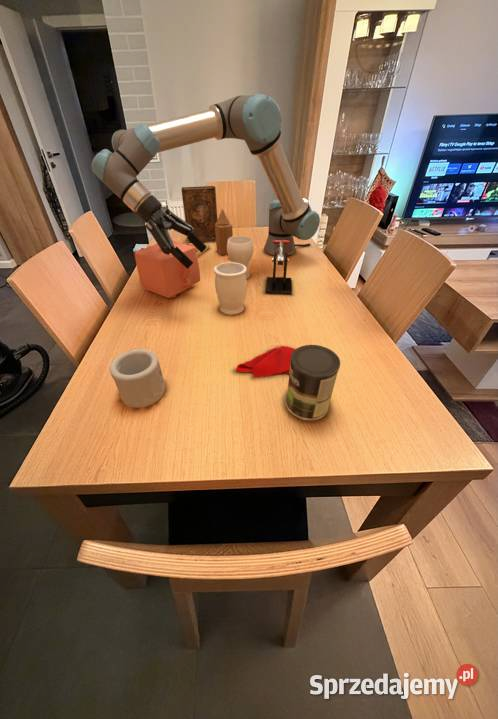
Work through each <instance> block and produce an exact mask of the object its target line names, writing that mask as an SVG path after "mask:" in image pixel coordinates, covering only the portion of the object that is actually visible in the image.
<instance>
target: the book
mask: <svg viewBox="0 0 498 719" xmlns="http://www.w3.org/2000/svg"><path fill="white" fill-rule="evenodd" d="M216 189H217V188H216V186H214V185H204V186H182V187H181V190H180V191H181V198H182V206H183V213H184V221H185V222H187V223H188V224H189V225H191V226H192V227H193V229H194V230H193V231H192V232H193V233H194V234H195V235H196V236H197V237H198V238H199V239H200V240H201V241H202V242H203V243H216V234H215V223H217V220H218V204H217V190H216ZM187 237H188V236H186V238H187ZM187 242H188V243H191V242H190V241H189V240H188V239H187Z"/></svg>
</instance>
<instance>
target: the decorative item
mask: <svg viewBox="0 0 498 719" xmlns="http://www.w3.org/2000/svg"><path fill="white" fill-rule="evenodd" d="M217 219H218V220H217V223H215V234H216V242H215V246H216V252H217V253H218V254H219V255H220V256H224V255H228V254H227V242H228V239H229V238H230V237H234V236H233V234H234V233H233V232H234V231H233V225H232V224H231V223H230V220H229V218H228V216H227V215H226V212H225V210H224V208H223V207H222V208H221V210H220V213H219V215H218V217H217Z"/></svg>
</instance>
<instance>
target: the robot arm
mask: <svg viewBox="0 0 498 719" xmlns="http://www.w3.org/2000/svg"><path fill="white" fill-rule="evenodd" d="M282 118H283V117H282V112H281V109H280V106H279V104H278V103H277V101H276V100H275V99H274V98H272V96H269V95H267V94H262V93H254V94H249V95H247V94H245V95H242V94H241V95H236V96H233V97H231V98H229V99H226V100H223V101H220V102H217V103H214V104H211V105H209V107H208V109H206V110H202V111H198V112H194V113H190V114H186V115H181V116H178V117H177V116H176V117H173V118H169V119H165V120H160V121H156V122H153V123H149V124H148V123H147V124H146V123H144V122H140V123H138V124H137V125H136V126H135V127H131V128H128V129H119V130H116V131H115V132H113V135H112V137H111V146H112V149H113V151H114V152H112V151H110V150H109V149H107V148H104V149H102V150H100V151H99V152H98V153H97V154H96V155H95V156H94V157H93V160H92V162H91V170H92V173H93V174H94V175H95V176H96V177H97V178H98V179H99V180H100V181H101V182H102V183H103V184H104V185H105V186H106V187H107V188H108V189H109V190H110V192H113V193H114V195H115V196H116V197H118V198H119V199H120V200H121V201H122V202H123V203H124V204H125V205H126V206H127V207H128V208H129V209H130V210H131V211H132V212H134V213H136V216H137V217H138V218H140V219H141V221H142V222H144V223H145V226H144V227H145V228H146V230H147V231H148V232H149V233H150V234H151V236H152V237H153V239H154V240H155V242H156V244H158V245H159V247H160V248H161V250H162V252H163V253H164V254H167V255H169V254H170V253H171V254H172V255H173V256H174V257H175V258H176V259H177V260H179V261H180V262H181V263H182V264H183V265H184V266H185V267H186V268H187V269H188V268H189V267H190V266H191V265H192V264H193V262H192V261H191V260H190V259H189V258H188V257H187V256H186V255H185V254H184V253H183V252H182V251H181V250H180V249H179V248H178V247H177V246H176V248H175V246H174V244H173V242H172V241H173V240H172V237H171V235H170V233H169V231H168V230H173V231H174V232H177V233H179V234H181V235H183V236H185V237H186V239H187V241H188V240H189V241H190V242H191V243H192V244H193V245H194V246H195V247H196V248H197V249H198V250H199V251H200V252H201V253H202V252H203V251H204V250H205V249H206V247H207V246H206V245H205V244H206V243H205V242H202V241H201V240H200V239H199V238H198V237H197V236H196V235H195V234H194V233H193V232H192V231H193V230H194V229H193V227H192V226H191V225H189V224H188V223H187V222H185V219H182V218H181V217H179V216H178V215H176V214H175V213H173V211H171V210H170V209H169V208H166V209H165V211H164V210H162V206H163V204H162V203H161V201H160V200H159V199H157V197H155V195H153V194H151V191H149V189H148V188H147V187H146V186H145V184H144V183H142V182H141V181H140V180H139V179H137V177H138V176H139V174H141V172H142V171H143V170H144V169H145V168H146V167H147V166H148V165H149V163H150V162H151V161H152V160H153V159H154V158H156V155H157V154H159V153H163V152H166V151H170V150H173V149H177V148H181V147H185V146H189V145H192V144H196V143H199V142H203V141H207V140H211V139H215V140H217V141H222V140H224V139H235V140H236V139H237V140H242V141H244V142H245V144H246V146H247V149H248V150H249V153H250V154H251V155H252V156H257V158H258V160H259V163H260V164H261V167H262V168H263V171H264V173H265V175H266V177H267V179H268V181H269V183H270V185H271V188H272V190H273V192H274V194H275V196H276V198H277V199H273V200H271V201H270V203H269V206H268V207H269V208H268V231H267V232H268V235H267V238H266V241H265V244H264V247H263V252H264V253H265V254H266V255H268V256H271V257H274V253H277V258H278V255H279V250H280V244H273V243H274V240H289V244H283V249H282V255H284V258H285V253H288V257H291V256H293V255H294V254H295V253H296V247H308V246H311V243H305V244H304V243H303V244H302V243H301V244H300V243H298V244H297V243H296V244H295V240H294V237H295V238H297V239H298V240H300V241H301V240H302V241H309V240H311V239H312V238H313V237H314V236H315V235H316V233H317V231H318V230H319V226H320V224H321V217H320V215H319V213H318V212H317V211H315V210H312V208H311V206H310V203H309V201H308V199H306V198H305V197H303V196H302V193H301V192H300V188H299V186H298V184H297V181H296V179H295V176H294V173H293V171H292V169H291V166H290V164H289V162H288V159H287V156H286V154H285V152H284V148H283V146H282V143H281V141H280V140H281V137H282V131H281V128H282V125H281V123H282V120H283V119H282ZM187 236H188V237H187ZM164 247H165V248H164ZM202 254H203V253H202Z"/></svg>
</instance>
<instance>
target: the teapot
mask: <svg viewBox="0 0 498 719" xmlns="http://www.w3.org/2000/svg"><path fill="white" fill-rule="evenodd" d="M172 242H173V244H174V246H175V248H176V246H177V247H178V248H179V249H180V250H181V251H182V252H183V253H184V254H185V255H186V256H187V257H188V258H189V259H190V260H191V261H192V262H193V264H192V265H191V266H190V267H189V268H188V269H187V268H186V267H185V266H184V265H183V264H182V263H181V262H180V261H179V260H177V259H176V258H175V257H174V256H173V255H172V254H171V253H170V254H169V255H167V254H164V253H163V252H162V250H161V248H160V247H159V245H158V244H157V243H155V244H152V245H148V246H147V247H144V248H142V249H139V250H136V251H134V258H135V264H136V270H137V273H138V274H137V275H138V279H139V282H140V285H141V287H142V289H145V290H146V291H149V292H152V293H154V294H157V295H159V296H161V297H164V298H167V299H169V298H171V299H172V298H175V297H177V295H178V294H180V293H182V292H183V291H185V290H190V289H192V288H193V286H194V285H196V284H198V283H200V282H201V272H200V266H199V260H198V257H197V251H198V249H197V248H196V247H195V246H194V245H193V244H191V246H190V245H187V244H188V243H183V242H180V241H176V240H172ZM164 248H165V247H164Z"/></svg>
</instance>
